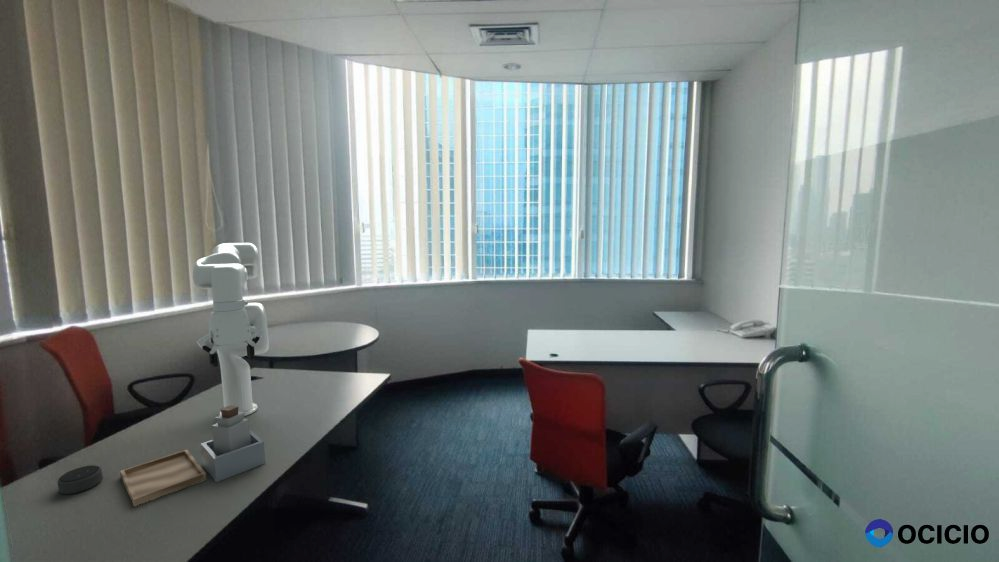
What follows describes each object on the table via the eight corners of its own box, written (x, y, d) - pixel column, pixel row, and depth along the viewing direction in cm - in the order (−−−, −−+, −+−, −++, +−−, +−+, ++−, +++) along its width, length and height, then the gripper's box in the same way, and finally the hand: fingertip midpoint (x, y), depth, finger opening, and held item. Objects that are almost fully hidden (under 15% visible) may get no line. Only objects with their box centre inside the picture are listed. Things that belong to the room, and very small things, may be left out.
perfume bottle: (252, 460, 133) (247, 405, 131) (232, 472, 127) (227, 414, 124) (236, 456, 135) (231, 402, 133) (215, 468, 129) (210, 410, 127)
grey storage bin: (202, 465, 130) (200, 443, 129) (249, 448, 140) (248, 428, 139) (216, 482, 122) (214, 458, 121) (265, 463, 132) (263, 441, 131)
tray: (120, 477, 124) (120, 470, 124) (187, 455, 136) (186, 449, 136) (134, 506, 111) (133, 499, 111) (206, 479, 123) (205, 473, 123)
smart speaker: (62, 484, 121) (60, 471, 121) (104, 473, 126) (103, 460, 126) (55, 500, 114) (53, 486, 114) (101, 488, 120) (99, 474, 119)
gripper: (254, 302, 138) (258, 354, 140) (190, 309, 125) (195, 366, 127) (264, 304, 133) (268, 358, 135) (198, 312, 120) (203, 371, 122)
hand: (233, 362), depth 131 cm, fingers open, 9 cm apart
